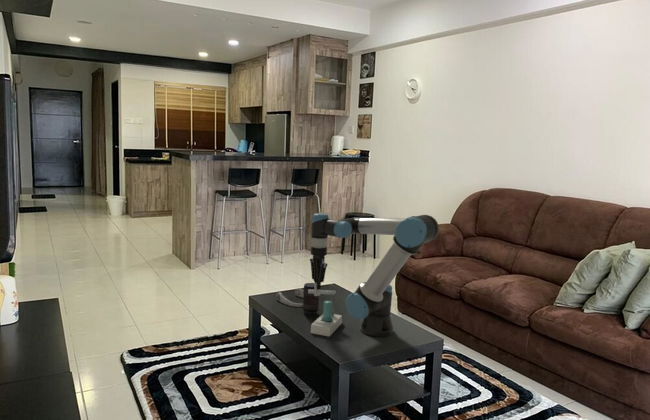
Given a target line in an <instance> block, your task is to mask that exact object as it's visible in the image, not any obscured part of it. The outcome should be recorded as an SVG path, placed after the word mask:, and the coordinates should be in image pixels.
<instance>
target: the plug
mask: <svg viewBox="0 0 650 420" xmlns="http://www.w3.org/2000/svg"><path fill="white" fill-rule="evenodd" d="M322 308H323V309H322V310H323V311H322V314H323V317H322V320H323V321H325V322H330V323H331V321H332V320H333V318H332V302H331V300H324V301H323V307H322Z"/></svg>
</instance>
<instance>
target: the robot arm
mask: <svg viewBox="0 0 650 420" xmlns="http://www.w3.org/2000/svg"><path fill="white" fill-rule="evenodd" d="M439 230H440V226H439V223H438V221H437V220H436V219H435V217H433V216H431V215H429V214H421V215H411V216H409V217H406V218H405V217H403V218H401V217H400V218H399V217H398V218H397V217H395V218H392V217H387V218H386V217H359V216H355V217H354V216H353V217H350V218H349V217H348V218H343V219H331V218H329V214H328V213H325V212H324V213H321V212H318V213H313V214H312V219H311V237H310V239H311V240H310V241H311V243H310V246H311V247H310V254H311V255H312V258H310V259H309V261H310V269H311V270H310V271H311V279H312V280H313V283H315V284H314V296H319V297H320V296H321V294H320V290H322V287H321V285H322V283H324V282H325V275H326V271H327V267H328V263H326V262H325V256H327V254H328V248H327V246H328V238H329V237H330V236H331V237H335V238H339V239H343V238H344V239H347V238H349V236H350V235H356V234H357V235H379V236H381V235H382V236H383V235H387V236H393V237H392V240H393V241H392V242H393V243H392V245H391V246H390V248H389V249H388V250H387V251H386V253H385V255H384V256H383V257H382V259H381V260H380V262H379V264H378V265H377V266H376V268H375V269H374V271H372V273H371V275H370V276H369V278H368V279H367V280H366V281H363V282H361V283H360V284H359V285H358V287H357V288H356V290H355V291H354V292H352V293H350V294H348V296H347V297H346V299H345V306H346V310H347V312H348V313H349V315H350V316H351V317H352V318H354V319H356V320H361V319H362V320H361V323H360V331H361V333H363V334H366V335H367V336H370V337H379V338H382V337H389V336H392V334H393V332H394V327H393V322H392V321H393V320H392V317H391V312H392V311H391V310H392V299H393V298H392V297H393V287H392V285H391V283H392V281H393V280H394V279H395V277H396V276H397V274H399V272H400V270H401V268H403V266H404V265H405V264H406V262H407V261H408V260H409V258H410V257H411V256H414V255H417V254H418V252H419V251H420V250H421V249H422V247H423V246H424V244H426V243H430V242H431V241H434V240H435V239H436V238H437V236H438V235H439ZM328 236H329V237H328Z"/></svg>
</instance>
